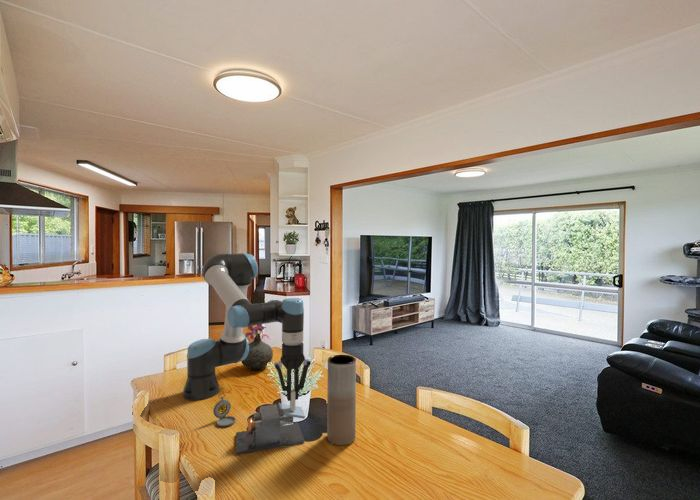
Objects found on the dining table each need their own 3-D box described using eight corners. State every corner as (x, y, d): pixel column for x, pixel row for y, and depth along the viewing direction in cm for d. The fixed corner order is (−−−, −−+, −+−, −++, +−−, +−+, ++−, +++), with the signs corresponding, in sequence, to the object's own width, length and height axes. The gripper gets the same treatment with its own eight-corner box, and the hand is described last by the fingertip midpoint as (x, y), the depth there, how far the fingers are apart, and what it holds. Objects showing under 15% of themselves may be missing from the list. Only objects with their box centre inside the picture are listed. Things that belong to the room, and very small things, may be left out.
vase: (235, 372, 179) (235, 315, 178) (250, 361, 196) (250, 309, 195) (265, 374, 176) (265, 317, 176) (277, 363, 193) (277, 310, 193)
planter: (359, 433, 122) (359, 356, 121) (350, 448, 112) (350, 365, 112) (333, 427, 125) (333, 353, 125) (322, 442, 116) (323, 361, 115)
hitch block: (236, 435, 120) (236, 408, 120) (298, 425, 127) (298, 399, 127) (236, 455, 108) (236, 425, 108) (304, 442, 115) (304, 415, 115)
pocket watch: (229, 428, 124) (229, 401, 124) (208, 426, 126) (208, 399, 126) (240, 417, 132) (240, 392, 132) (221, 415, 134) (221, 390, 134)
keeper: (278, 402, 122) (301, 406, 125) (277, 405, 122) (300, 409, 125) (281, 412, 115) (305, 416, 118) (279, 416, 115) (304, 419, 117)
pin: (247, 430, 118) (247, 415, 118) (291, 423, 123) (291, 409, 122) (248, 437, 113) (248, 423, 113) (293, 430, 118) (293, 416, 118)
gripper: (275, 347, 114) (275, 416, 114) (313, 343, 118) (312, 410, 119) (272, 341, 121) (272, 406, 121) (308, 338, 125) (308, 401, 126)
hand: (292, 408), depth 120 cm, fingers closed
